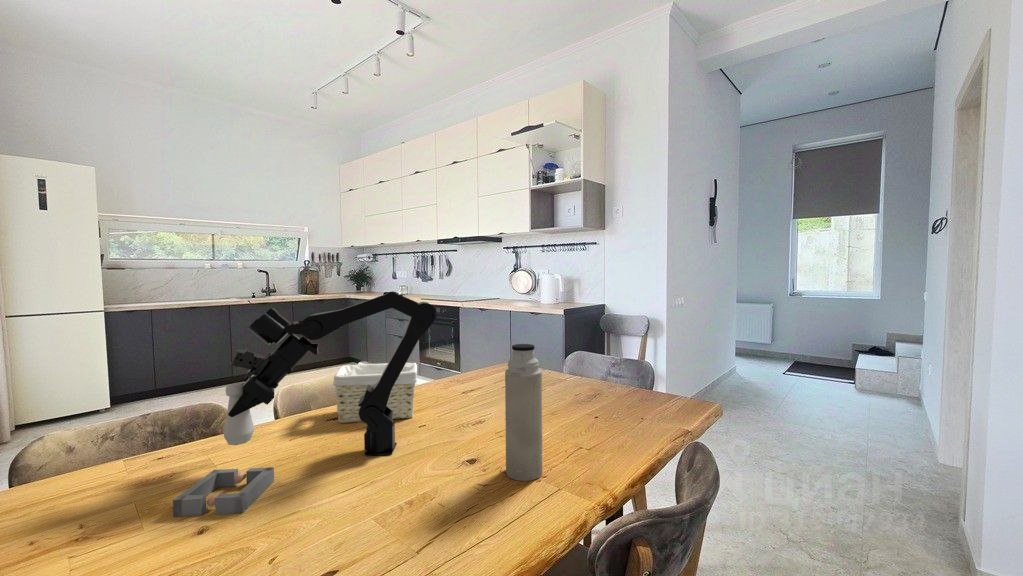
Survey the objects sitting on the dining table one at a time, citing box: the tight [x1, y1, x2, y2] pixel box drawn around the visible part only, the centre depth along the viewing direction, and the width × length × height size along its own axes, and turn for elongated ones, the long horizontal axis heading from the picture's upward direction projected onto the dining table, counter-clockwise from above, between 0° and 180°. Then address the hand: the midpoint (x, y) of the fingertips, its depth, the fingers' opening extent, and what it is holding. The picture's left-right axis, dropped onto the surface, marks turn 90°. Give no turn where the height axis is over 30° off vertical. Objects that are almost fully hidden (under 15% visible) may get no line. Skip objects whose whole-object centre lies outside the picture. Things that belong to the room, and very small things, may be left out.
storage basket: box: [333, 362, 418, 424], centre depth 132 cm, size 24×16×15 cm
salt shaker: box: [222, 382, 255, 446], centre depth 94 cm, size 6×6×13 cm
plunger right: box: [234, 471, 246, 484], centre depth 88 cm, size 2×2×2 cm
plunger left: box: [206, 492, 220, 507], centre depth 79 cm, size 2×2×2 cm
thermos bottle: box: [504, 343, 543, 482], centre depth 92 cm, size 8×8×28 cm
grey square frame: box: [172, 466, 275, 517], centre depth 83 cm, size 12×12×3 cm
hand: (230, 413), depth 93 cm, fingers closed on salt shaker, 3 cm apart
